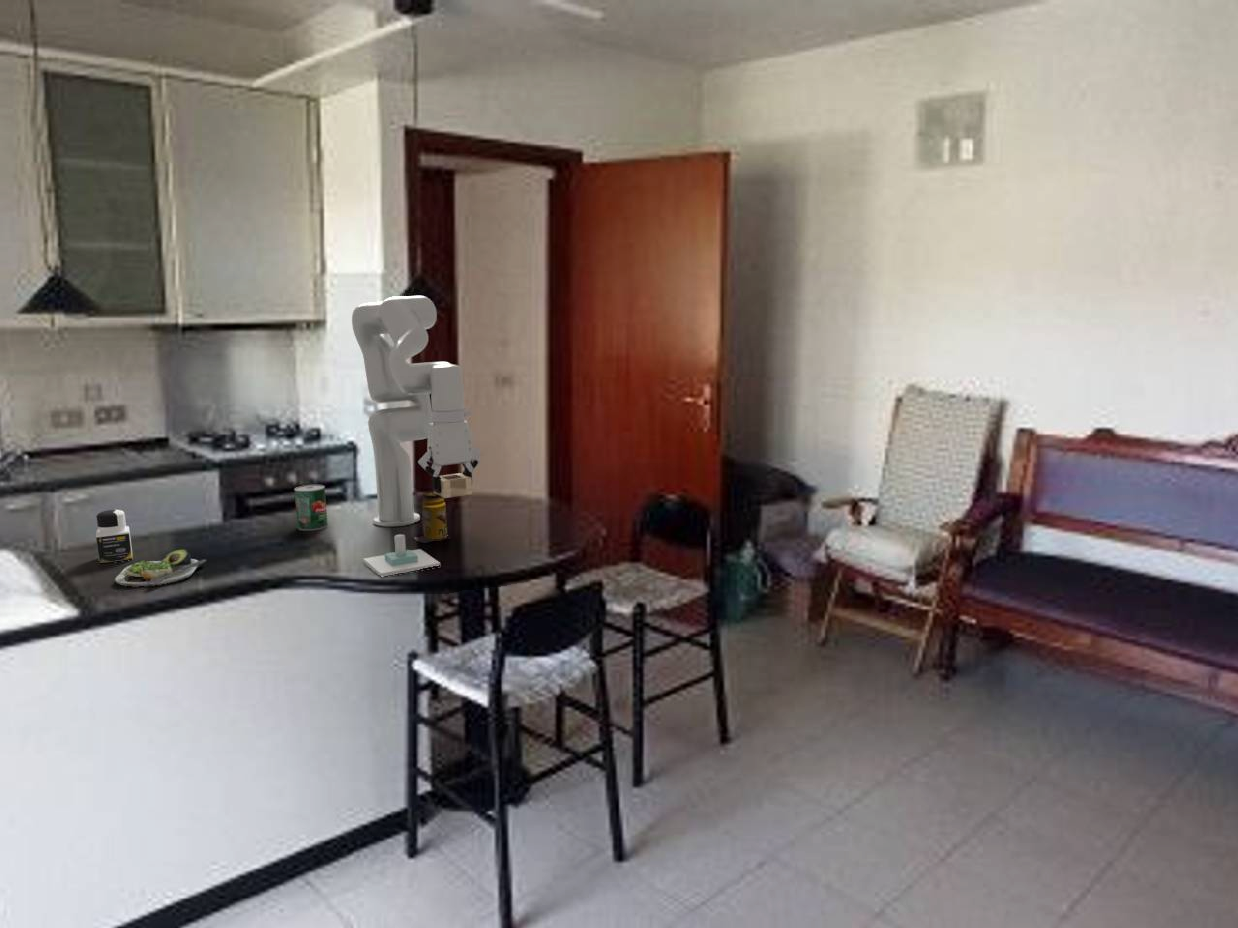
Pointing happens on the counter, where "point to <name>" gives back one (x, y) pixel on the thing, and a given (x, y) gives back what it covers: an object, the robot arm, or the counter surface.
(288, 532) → the counter surface
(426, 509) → the condiment
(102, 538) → the medicine bottle
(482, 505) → the counter surface
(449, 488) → the collar
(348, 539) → the counter surface
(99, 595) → the counter surface
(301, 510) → the canned tomato
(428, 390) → the robot arm
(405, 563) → the post block
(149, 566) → the salad plate
